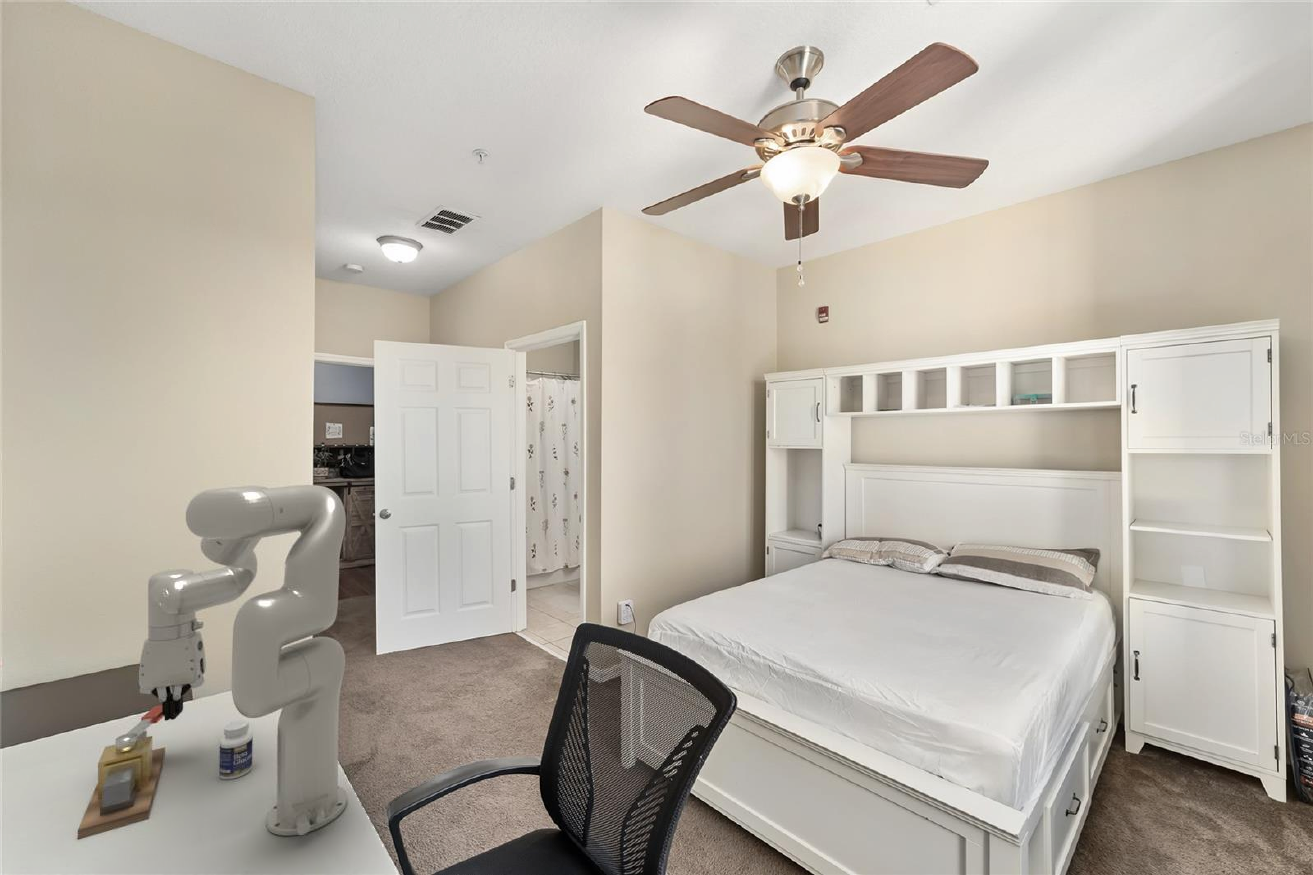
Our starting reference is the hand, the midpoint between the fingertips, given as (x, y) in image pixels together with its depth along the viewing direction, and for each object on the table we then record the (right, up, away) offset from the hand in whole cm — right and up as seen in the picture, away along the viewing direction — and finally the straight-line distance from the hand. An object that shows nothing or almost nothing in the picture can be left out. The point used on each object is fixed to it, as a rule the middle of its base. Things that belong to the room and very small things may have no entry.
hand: (172, 716), depth 119 cm
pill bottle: (+16, -10, -4) cm, 19 cm away
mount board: (0, -9, -10) cm, 14 cm away
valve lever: (-2, -1, -5) cm, 5 cm away
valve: (0, -8, -10) cm, 13 cm away
